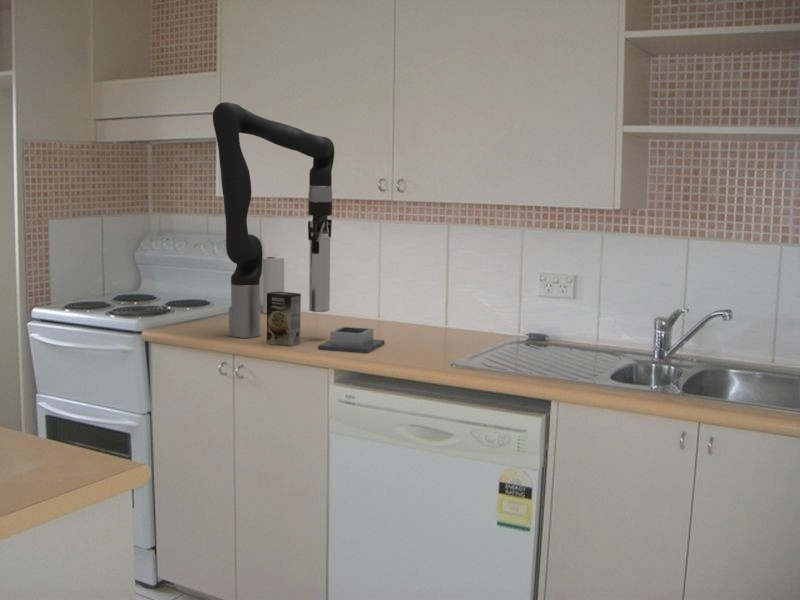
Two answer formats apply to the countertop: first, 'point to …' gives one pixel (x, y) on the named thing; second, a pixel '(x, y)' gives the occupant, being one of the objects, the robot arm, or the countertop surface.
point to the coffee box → (283, 318)
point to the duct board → (352, 340)
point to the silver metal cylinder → (320, 276)
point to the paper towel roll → (272, 277)
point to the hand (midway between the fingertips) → (319, 252)
